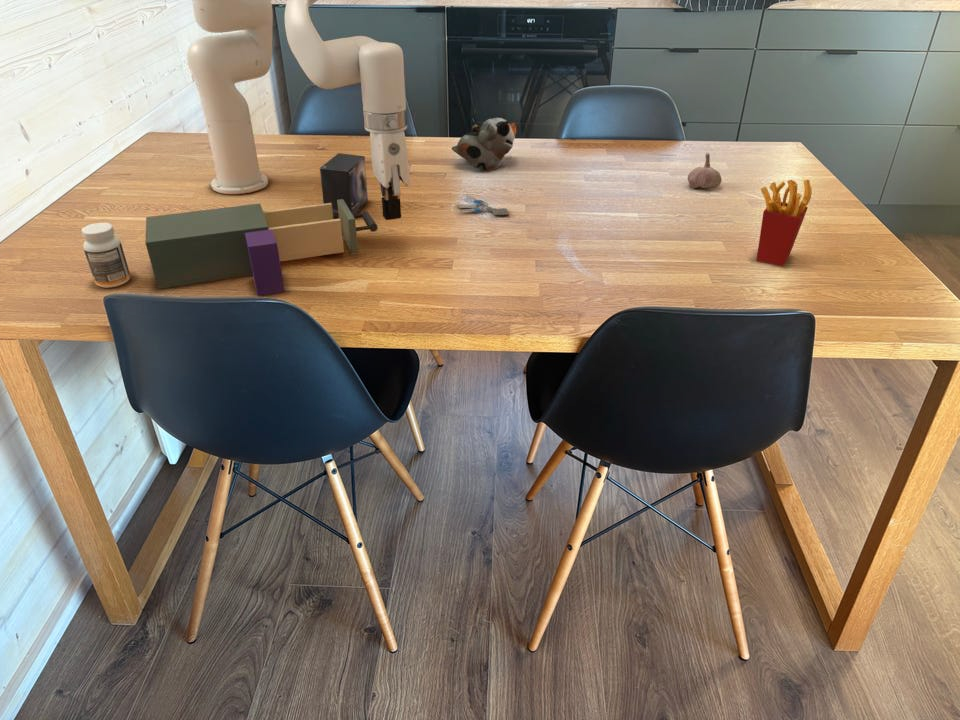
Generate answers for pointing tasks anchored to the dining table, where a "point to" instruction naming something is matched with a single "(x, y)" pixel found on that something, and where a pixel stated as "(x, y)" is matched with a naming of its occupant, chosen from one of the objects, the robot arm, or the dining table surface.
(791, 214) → the french fries
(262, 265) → the snack carton
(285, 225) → the drawer
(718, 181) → the garlic bulb
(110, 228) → the pill bottle
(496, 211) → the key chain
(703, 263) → the dining table surface
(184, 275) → the cabinet
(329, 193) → the small box
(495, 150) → the lucky cat figurine
